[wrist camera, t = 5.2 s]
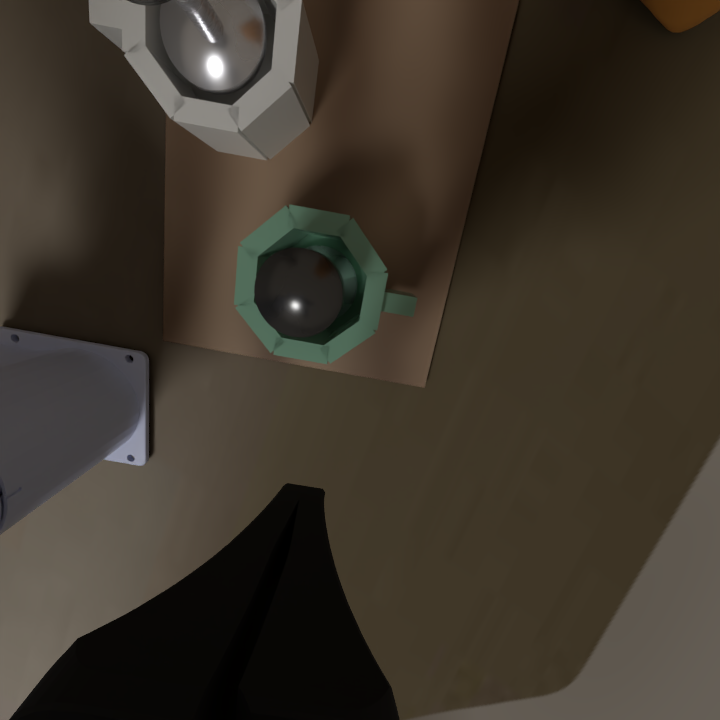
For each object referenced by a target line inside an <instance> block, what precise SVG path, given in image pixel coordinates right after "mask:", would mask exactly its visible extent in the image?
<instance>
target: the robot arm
mask: <svg viewBox="0 0 720 720" xmlns="http://www.w3.org/2000/svg"><path fill="white" fill-rule="evenodd" d="M17 336H18V337H19V339H18V337H17ZM130 355H131V356H132V357H133V361H132V360H131V359H130V357H129V356H130ZM131 455H133V456H134V458H133V457H132V456H131ZM103 459H104V460H110V461H115V462H121V463H127V464H133V465H138V466H142V465H144V464H145V463H146V462H147V461H148V460H149V358H148V356H147V354H146V353H144V352H142V351H138V350H132V349H126V348H121V347H115V346H110V345H104V344H98V343H93V342H87V341H82V340H76V339H70V338H65V337H59V336H54V335H48V334H43V333H37V332H31V331H26V330H20V329H15V328H9V327H0V535H1V534H2V533H3V532H5V531H6V530H7V529H9V528H10V527H11V526H13V525H14V524H16V523H17V522H18V521H20V520H21V519H22V518H24V517H25V516H27V515H28V514H29V513H31V512H32V511H33V510H35V509H36V508H37V507H39V506H40V505H42V504H43V503H44V502H46V501H47V500H48V499H50V498H51V497H53V496H54V495H55V494H57V493H58V492H59V491H61V490H62V489H64V488H65V487H66V486H68V485H69V484H70V483H72V482H73V481H74V480H76V479H77V478H79V477H80V476H81V475H83V474H84V473H85V472H87V471H88V470H90V469H91V468H92V467H94V466H95V465H96V464H98V463H99V462H100V461H102V460H103ZM324 496H325V492H324V490H323V489H320V488H314V487H308V486H301V485H295V484H289V483H287V484H285V485H284V486H283V487H282V489H281V490H280V491H279V492H278V494H277V495H276V496H275V497H274V498H273V500H272V501H271V502H270V503H269V504H268V505H267V506H266V508H265V509H264V510H263V511H262V512H261V513H260V514H259V515H258V516H257V517H256V518H255V519H254V520H253V521H252V522H251V523H250V524H249V525H248V526H247V527H246V528H245V529H244V530H243V531H242V532H241V533H240V534H239V535H238V536H236V537H235V538H234V539H233V540H232V541H231V542H230V543H229V544H228V545H226V546H225V547H224V548H223V549H222V550H221V551H219V552H218V553H217V554H216V555H214V556H213V557H212V558H211V559H209V560H208V561H207V562H206V563H204V564H203V565H202V566H200V567H199V568H197V569H196V570H195V571H193V572H192V573H191V574H189V575H188V576H186V577H185V578H184V579H182V580H181V581H179V582H178V583H176V584H175V585H173V586H172V587H170V588H169V589H167V590H165V591H164V592H162V593H161V594H159V595H157V596H156V597H154V598H152V599H151V600H149V601H147V602H146V603H144V604H142V605H141V606H139V607H138V608H136V609H134V610H132V611H131V612H129V613H127V614H125V615H123V616H121V617H119V618H117V619H116V620H114V621H112V622H110V623H108V624H106V625H104V626H102V627H100V628H98V629H96V630H94V631H92V632H90V633H88V634H86V635H84V636H82V637H80V638H78V639H77V640H76V641H75V642H74V643H73V644H72V645H71V647H70V648H69V649H68V650H67V651H66V652H65V653H64V654H63V655H62V656H61V657H60V658H59V659H58V660H57V661H56V663H55V664H54V665H53V666H52V667H51V668H50V669H49V671H48V672H47V673H46V674H45V675H44V677H43V678H42V679H41V680H40V682H39V683H38V684H37V685H36V687H35V688H34V689H33V690H32V692H31V693H30V694H29V695H28V697H27V698H26V699H25V701H24V702H23V703H22V704H21V706H20V707H19V708H18V709H17V711H16V712H15V713H14V714H13V716H12V717H11V718H10V719H9V720H399V715H398V711H397V707H396V703H395V699H394V695H393V692H392V688H391V686H390V684H389V683H388V681H387V679H386V678H385V676H384V674H383V673H382V671H381V669H380V667H379V666H378V664H377V662H376V660H375V658H374V657H373V655H372V653H371V651H370V649H369V647H368V645H367V643H366V641H365V639H364V637H363V635H362V633H361V631H360V629H359V627H358V625H357V622H356V620H355V618H354V616H353V613H352V611H351V609H350V607H349V604H348V602H347V599H346V597H345V594H344V591H343V589H342V586H341V583H340V580H339V577H338V574H337V571H336V567H335V564H334V560H333V556H332V553H331V549H330V544H329V540H328V534H327V528H326V522H325V513H324Z"/></svg>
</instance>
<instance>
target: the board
mask: <svg viewBox="0 0 720 720" xmlns="http://www.w3.org/2000/svg"><path fill="white" fill-rule="evenodd" d="M518 3H519V0H303V4H304V7H305V11H306V15H307V18H308V22H309V26H310V29H311V33H312V36H313V40H314V44H315V47H316V51H317V55H318V59H319V65H318V73H317V82H316V90H315V99H314V107H313V116H312V123H311V122H309V125H310V126H309V127H308V128H307V129H306V130H305V131H303V132H302V133H301V134H300V135H299V136H297V137H296V138H295V139H294V140H293V141H292V142H290V143H289V144H288V145H287V146H286V147H285V148H283V149H282V150H281V151H280V152H279V153H278V154H276V155H275V156H274V157H273V158H272V159H269V158H268V157H267V160H262V159H256V158H251V157H245V156H240V155H234V154H229V153H224V152H218V151H216V150H215V149H213V148H212V147H210V146H209V145H208V144H206V143H205V142H203V141H202V140H200V139H199V138H198V137H196V136H195V135H193V134H192V133H190V132H189V131H188V130H186V129H185V128H183V127H182V126H180V125H179V124H178V123H176V122H175V121H173V120H172V119H170V117H169V116H168V115H167V113H166V140H165V218H164V296H163V341H167V342H173V343H178V344H184V345H190V346H195V347H201V348H206V349H212V350H217V351H223V352H229V353H234V354H240V355H245V356H251V357H256V358H262V359H268V360H273V361H279V362H284V363H290V364H296V365H301V366H307V367H312V368H318V369H323V370H329V371H335V372H340V373H346V374H351V375H357V376H362V377H368V378H374V379H379V380H385V381H390V382H396V383H402V384H407V385H413V386H418V387H424V388H425V384H426V380H427V376H428V372H429V368H430V364H431V360H432V355H433V351H434V347H435V343H436V339H437V335H438V331H439V327H440V323H441V319H442V314H443V310H444V306H445V302H446V298H447V294H448V290H449V286H450V282H451V278H452V273H453V269H454V265H455V261H456V257H457V253H458V249H459V245H460V241H461V237H462V232H463V228H464V224H465V220H466V216H467V212H468V208H469V204H470V200H471V196H472V191H473V187H474V183H475V179H476V175H477V171H478V167H479V163H480V159H481V155H482V151H483V146H484V142H485V138H486V134H487V130H488V126H489V122H490V118H491V114H492V110H493V105H494V101H495V97H496V93H497V89H498V85H499V81H500V77H501V73H502V69H503V64H504V60H505V56H506V52H507V48H508V44H509V40H510V36H511V32H512V28H513V23H514V19H515V15H516V11H517V7H518ZM289 205H296V206H301V207H306V208H312V209H317V210H323V211H328V212H334V213H339V214H345V215H350V216H351V218H354V220H355V221H356V223H357V224H358V226H359V227H360V229H361V230H362V232H363V233H364V235H365V236H366V238H367V239H368V241H369V242H370V244H371V245H372V247H373V248H374V250H375V251H376V253H377V254H378V256H379V257H380V259H381V261H382V262H383V264H384V265H385V267H386V268H387V270H386V272H387V273H388V277H387V282H386V289H392V290H397V291H403V292H408V293H412V294H413V295H415V296H416V297H417V302H416V307H415V311H414V316H413V317H410V316H405V315H399V314H394V313H388V312H383V311H381V313H380V319H379V324H378V329H377V330H375V334H374V335H372V336H371V337H369V338H368V339H366V340H365V341H363V342H362V343H360V344H359V345H357V346H356V347H354V348H353V349H351V350H350V351H348V352H347V353H345V354H344V355H342V356H341V357H340V358H338V359H337V360H335V361H334V362H332V363H331V364H330V363H329V361H328V363H327V364H322V363H317V362H311V361H305V360H300V359H294V358H289V357H283V356H278V355H273V354H274V351H272V352H271V353H270V352H269V350H268V349H267V348H266V347H265V345H264V344H263V343H262V342H261V340H260V339H259V338H258V337H257V335H256V334H255V333H254V331H253V330H252V329H251V328H250V326H249V325H248V324H247V323H246V321H245V320H244V319H243V317H242V316H241V315H240V314H239V312H238V311H237V310H236V309H235V308H236V307H237V306H238V305H234V297H235V283H236V269H237V255H238V246H242V245H241V244H240V242H241V241H242V240H244V239H245V238H246V237H247V236H249V235H250V234H251V233H252V232H254V231H255V230H256V229H257V228H259V227H260V226H261V225H262V224H263V223H265V222H266V221H267V220H268V219H270V218H271V217H272V216H273V215H275V214H276V213H277V212H278V211H280V210H281V209H282V208H283V207H284V206H288V207H289Z"/></svg>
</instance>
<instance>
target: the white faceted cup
mask: <svg viewBox="0 0 720 720" xmlns="http://www.w3.org/2000/svg"><path fill="white" fill-rule="evenodd" d="M258 3H259V5H260V7H261V10H262V12H263V16H264V19H265V24H266V30H267V46H266V53H265V57H264V60H263V63H262V66H261V68H260V70H259V72H258V73H257V75H256V76H255V78H254V79H253V80H252V81H251V82H250V83H249V84H248V85H247V86H246V87H244V88H243V89H241V90H239V91H237V92H234V93H231V94H227V95H217V94H211V93H207V92H205V91H203V90H200V89H199V88H197V87H195V86H194V85H193V84H192V83H190V82H189V81H188V80H187V79H186V78H185V77H184V76H183V75H182V74H181V73H180V72H179V71H178V70H177V68H176V67H175V66H174V64H173V63H172V61H171V60H170V58H169V56H168V54H167V52H166V49H165V47H164V44H163V40H162V36H161V30H160V8H161V4H160V5H153V6H146V5H139V4H135V3H132V2H130V1H127V0H89V20H90V24H91V25H93V26H94V27H95V28H96V29H97V30H99V31H100V32H101V33H102V34H103V35H105V36H106V37H107V38H108V39H109V40H111V41H112V42H113V43H114V44H115V45H117V46H118V47H119V48H120V49H121V50H122V51H124V52H125V53H126V54H125V55H124V56H125V57H126V59H127V60H128V62H129V63H130V64H131V66H132V67H133V68H134V70H135V71H136V72H137V74H138V75H139V77H140V78H141V79H142V81H143V82H144V83H145V85H146V86H147V87H148V89H149V90H150V92H151V93H152V94H153V96H154V97H155V98H156V100H157V101H158V102H159V104H160V105H161V107H162V108H163V109H164V111H165V112H166V113H167V115H168V116H169V117H170V119H172V120H173V121H175V122H176V123H178V124H179V125H180V126H182V127H183V128H185V129H186V130H188V131H189V132H190V133H192V134H193V135H195V136H196V137H198V138H199V139H200V140H202V141H203V142H205V143H206V144H208V145H209V146H210V147H212V148H213V149H215V150H216V151H218V152H224V153H229V154H234V155H240V156H245V157H251V158H256V159H262V160H267V157H268V158H269V159H272V158H273V157H274V156H275V155H276V154H278V153H279V152H280V151H281V150H282V149H283V148H285V147H286V146H287V145H288V144H289V143H290V142H292V141H293V140H294V139H295V138H296V137H297V136H299V135H300V134H301V133H302V132H303V131H305V130H306V129H307V128H308V127H309V126H310V125H309V122H311V123H312V116H313V107H314V99H315V90H316V82H317V73H318V65H319V59H318V55H317V51H316V47H315V44H314V40H313V36H312V33H311V29H310V26H309V22H308V18H307V15H306V11H305V7H304V4H303V0H258Z"/></svg>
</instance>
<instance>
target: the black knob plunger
mask: <svg viewBox="0 0 720 720" xmlns="http://www.w3.org/2000/svg"><path fill="white" fill-rule="evenodd" d="M356 292H357V277H356V273H355V270H354V268H353V266H352V264H351V263H350V261H349V260H348V259H347V258H346V257H345V256H344V255H343V254H342V253H341V252H339V251H337V250H335V249H333V248H330V247H327V246H310V247H307V248H287V249H284V250H280V251H278V252H276V253H274V254H273V255H272V256H270V257H269V258H268V259H267V260H266V261H265V262H264V263H263V264H262V266H261V268H260V269H259V271H258V274H257V276H256V280H255V286H254V294H255V300H256V304H257V307H258V310H259V311H260V313H261V315H262V317H263V318H264V319H265V321H266V322H267V323H268V324H269V325H270V326H271V327H272V328H274V329H275V330H277V331H279V332H280V333H282V334H285V335H288V336H292V337H310V336H313V335H316V334H318V333H320V332H322V331H324V330H325V329H326V328H328V327H329V326H330V325H331V324H332V323H333V321H334V320H335V319H337V318H338V317H340V316H342V315H343V314H344V313H345V312H346V311H347V310H348V309H349V308H350V306H351V305H352V303H353V301H354V299H355V296H356Z"/></svg>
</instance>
